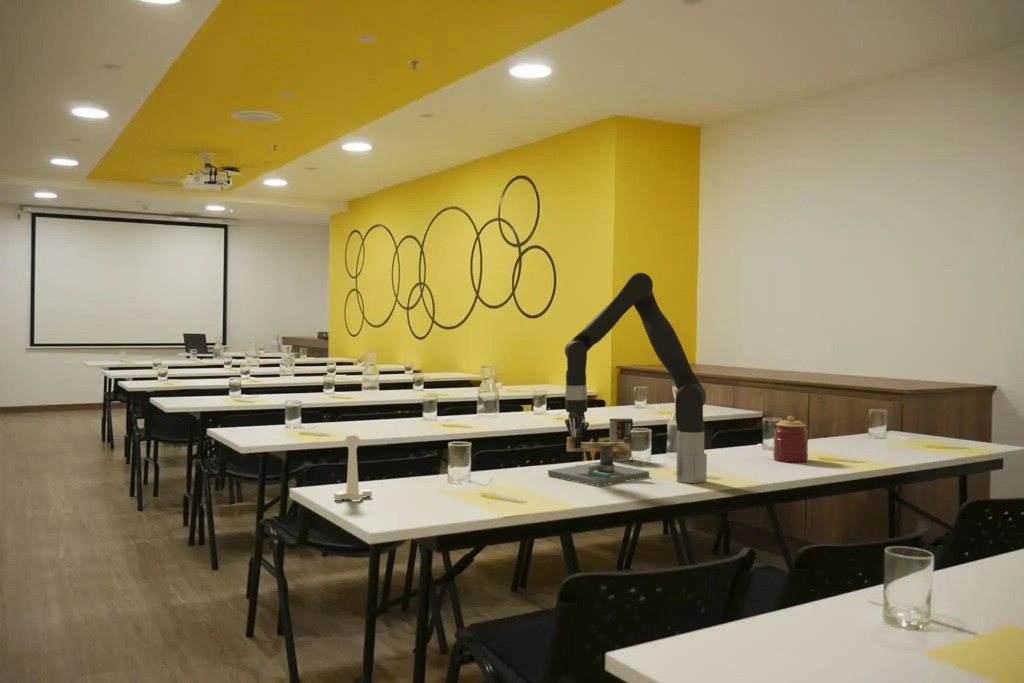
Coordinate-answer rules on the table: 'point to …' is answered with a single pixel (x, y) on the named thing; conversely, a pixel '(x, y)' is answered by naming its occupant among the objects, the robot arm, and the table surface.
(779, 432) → the canister
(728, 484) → the table surface
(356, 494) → the joystick
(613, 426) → the coffee box
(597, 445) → the wooden pivot lever
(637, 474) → the board
